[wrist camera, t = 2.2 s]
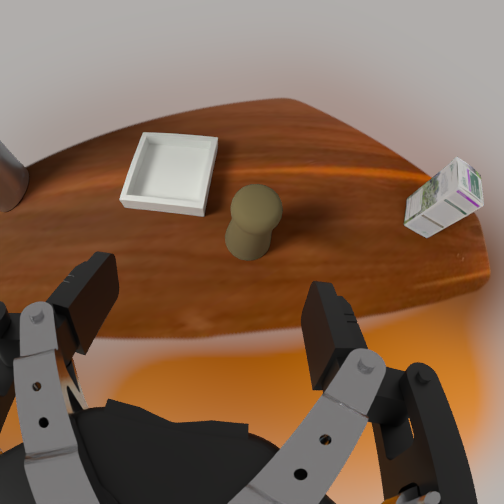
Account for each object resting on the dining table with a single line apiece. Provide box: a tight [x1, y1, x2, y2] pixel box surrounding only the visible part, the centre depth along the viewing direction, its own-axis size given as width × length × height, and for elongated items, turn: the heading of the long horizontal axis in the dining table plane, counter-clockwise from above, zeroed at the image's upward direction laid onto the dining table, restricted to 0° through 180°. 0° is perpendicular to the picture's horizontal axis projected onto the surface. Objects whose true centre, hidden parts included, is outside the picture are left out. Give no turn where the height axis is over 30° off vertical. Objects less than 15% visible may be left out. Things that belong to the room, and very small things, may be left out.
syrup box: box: [404, 157, 484, 238], centre depth 34 cm, size 6×6×14 cm
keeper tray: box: [119, 132, 218, 217], centre depth 37 cm, size 12×12×3 cm
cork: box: [225, 184, 283, 261], centre depth 31 cm, size 6×6×11 cm
